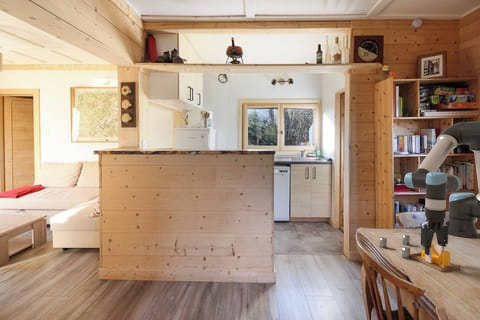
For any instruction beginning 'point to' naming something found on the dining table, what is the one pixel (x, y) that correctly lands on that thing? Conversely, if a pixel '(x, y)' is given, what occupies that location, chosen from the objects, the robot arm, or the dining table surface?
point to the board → (418, 257)
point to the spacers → (404, 249)
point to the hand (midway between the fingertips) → (433, 260)
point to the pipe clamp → (439, 257)
